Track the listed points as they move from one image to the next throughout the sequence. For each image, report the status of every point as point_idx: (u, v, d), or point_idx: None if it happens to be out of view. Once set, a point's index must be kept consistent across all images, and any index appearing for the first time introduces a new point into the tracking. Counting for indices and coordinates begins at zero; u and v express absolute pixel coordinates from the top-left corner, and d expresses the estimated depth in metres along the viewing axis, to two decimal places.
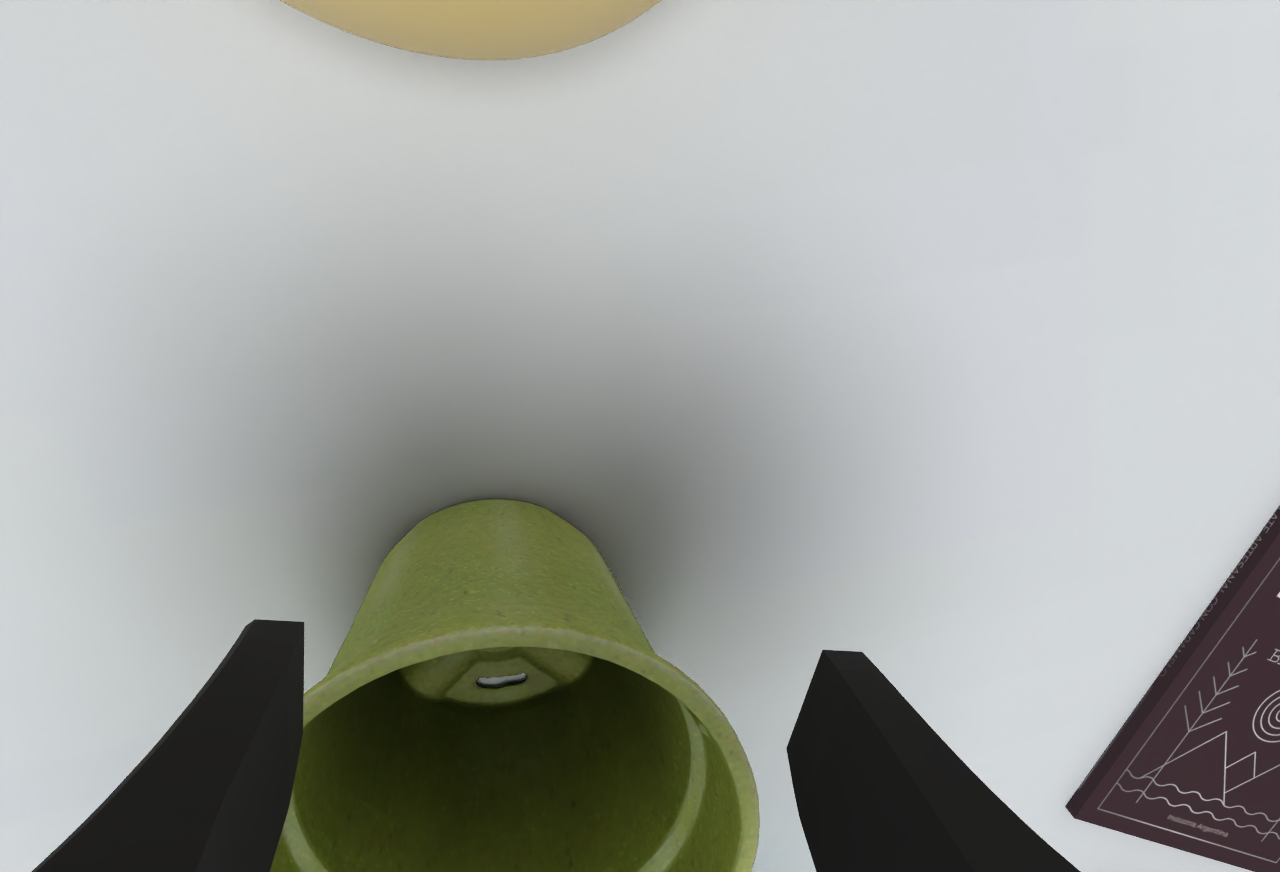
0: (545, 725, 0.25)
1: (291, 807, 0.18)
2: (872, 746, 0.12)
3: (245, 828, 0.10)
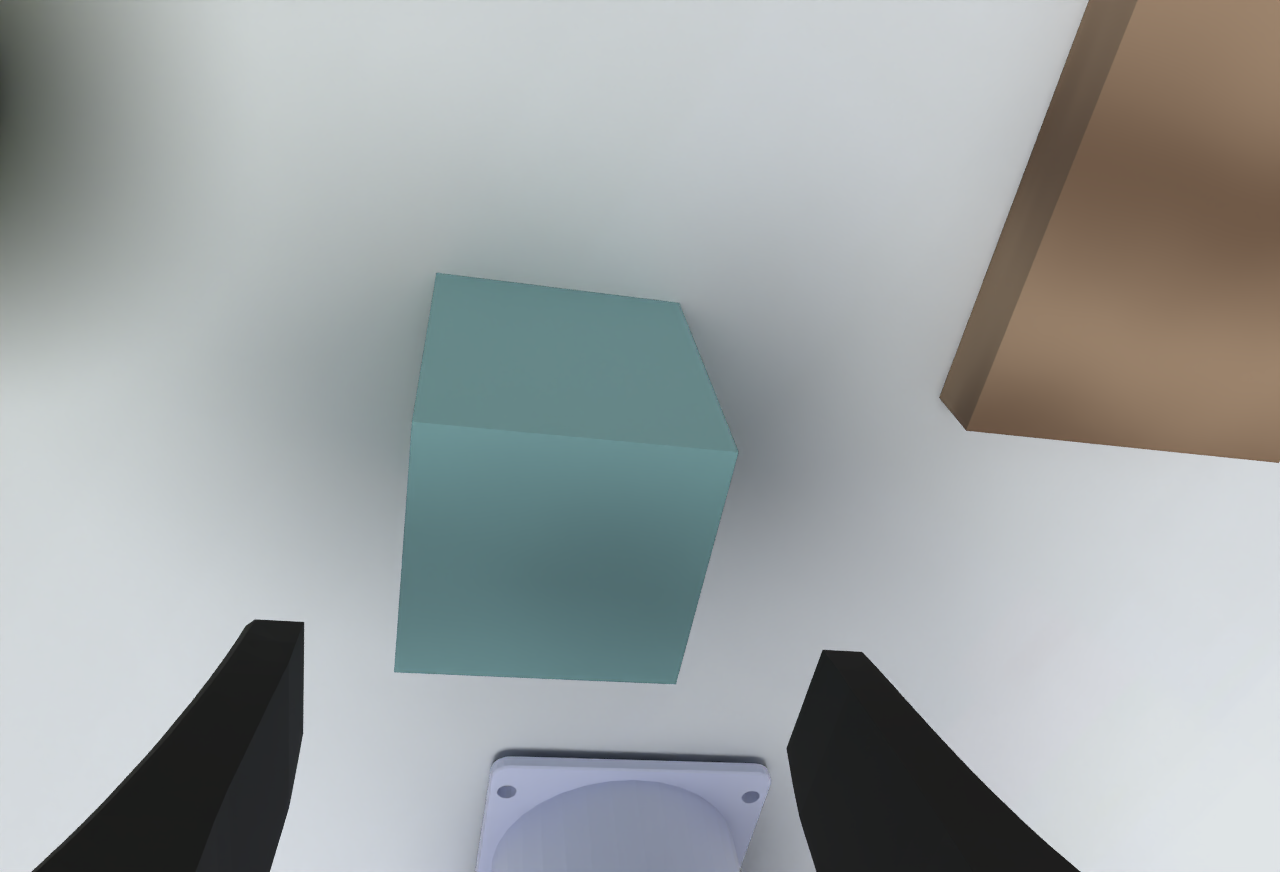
0: None
1: None
2: (872, 746, 0.12)
3: (245, 828, 0.10)
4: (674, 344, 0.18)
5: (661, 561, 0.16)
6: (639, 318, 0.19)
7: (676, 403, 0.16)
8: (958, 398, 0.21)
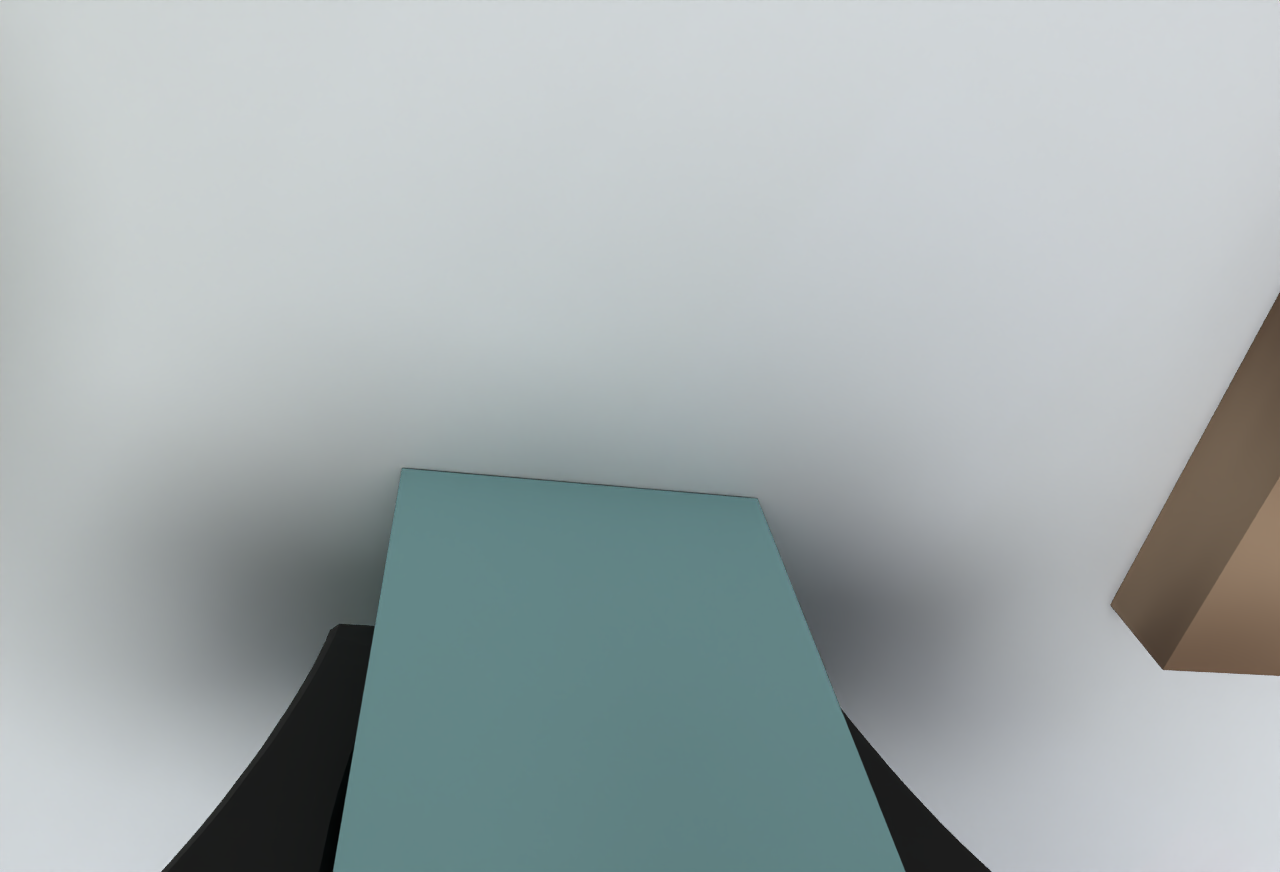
0: None
1: None
2: None
3: None
4: (763, 595, 0.12)
5: None
6: (705, 540, 0.13)
7: (785, 747, 0.10)
8: (1146, 617, 0.15)
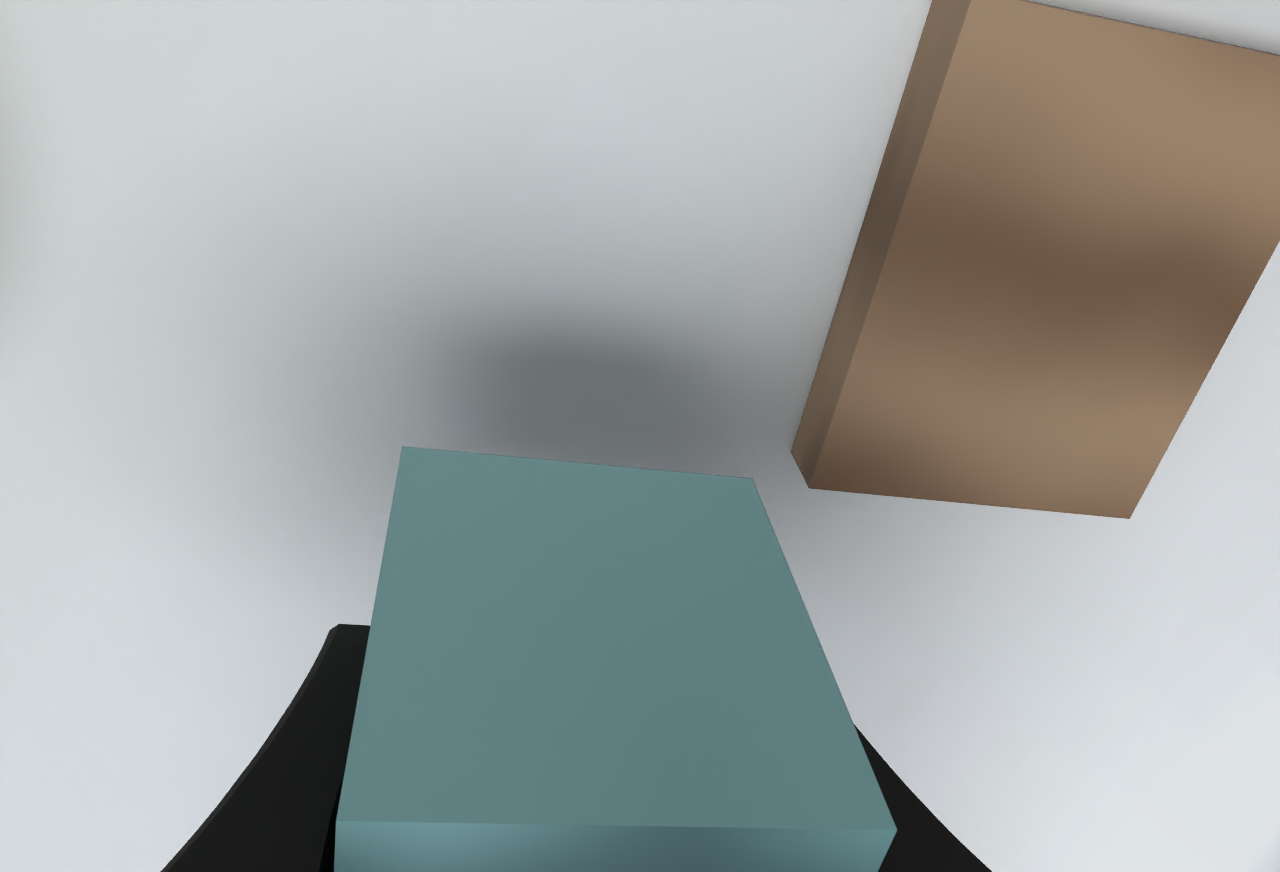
0: None
1: None
2: None
3: None
4: (758, 569, 0.12)
5: None
6: (701, 517, 0.13)
7: (778, 710, 0.10)
8: (804, 455, 0.21)
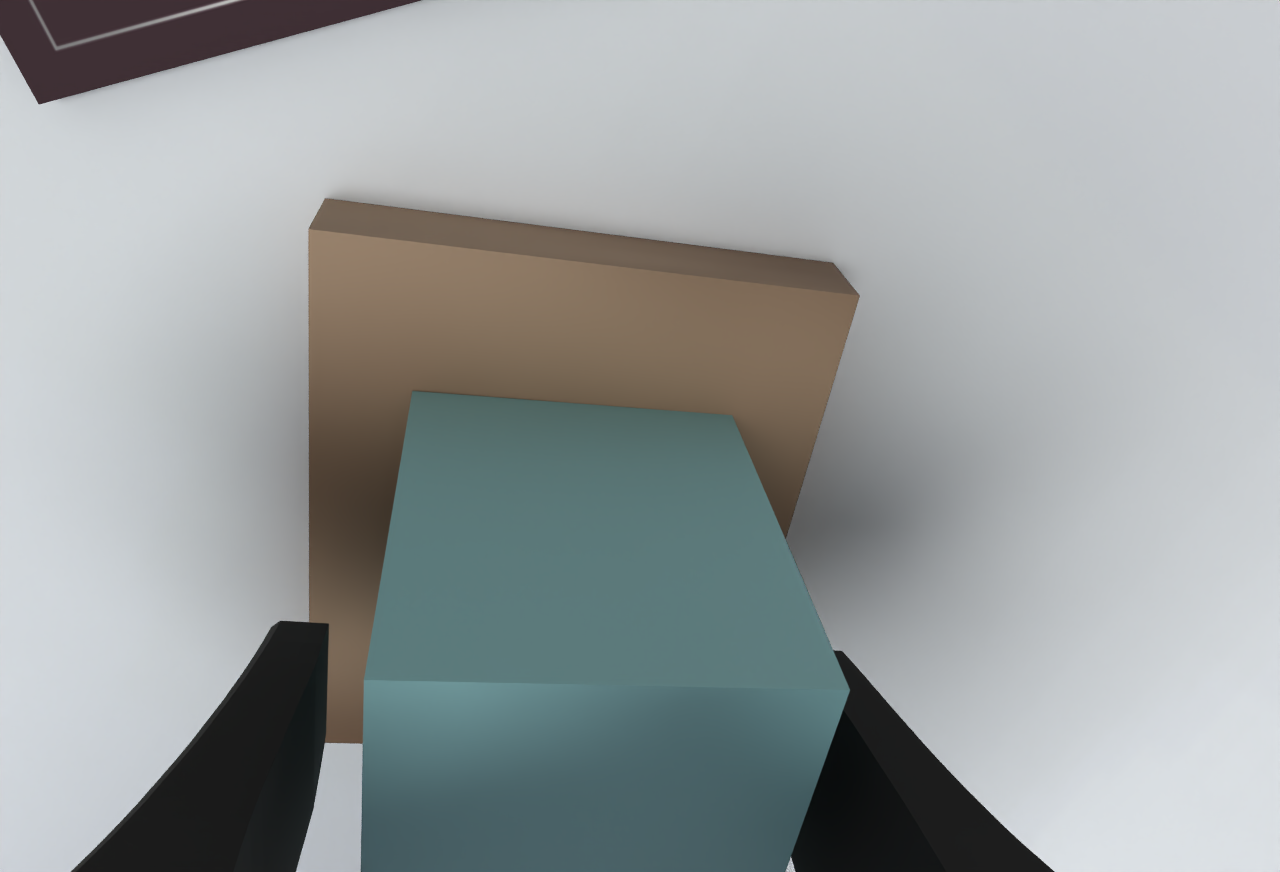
0: None
1: None
2: (849, 745, 0.12)
3: (275, 829, 0.10)
4: (734, 488, 0.13)
5: (734, 828, 0.11)
6: (683, 447, 0.14)
7: (748, 599, 0.11)
8: None
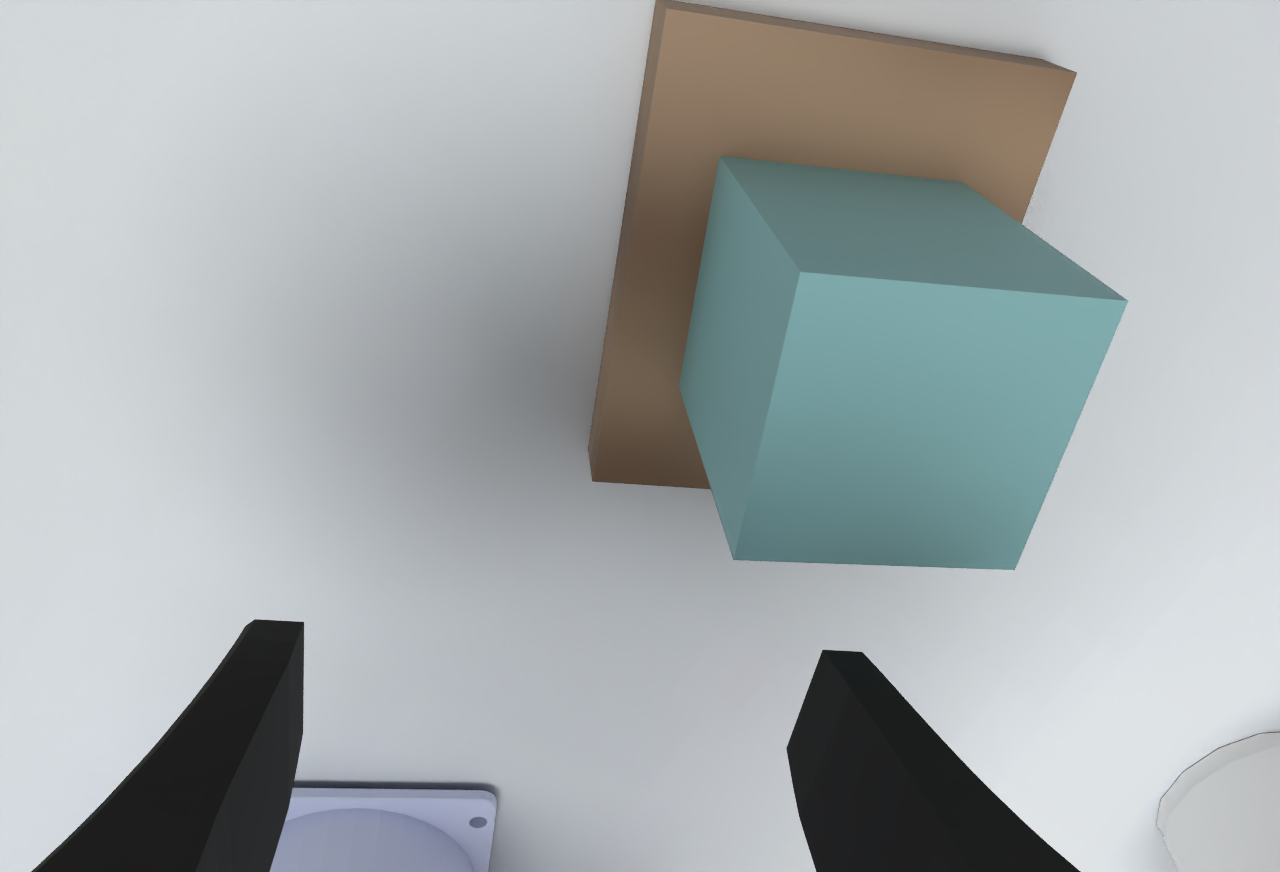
0: None
1: None
2: (872, 746, 0.12)
3: (245, 828, 0.10)
4: (989, 214, 0.17)
5: (1026, 428, 0.15)
6: (938, 193, 0.18)
7: (1033, 261, 0.15)
8: (592, 449, 0.22)
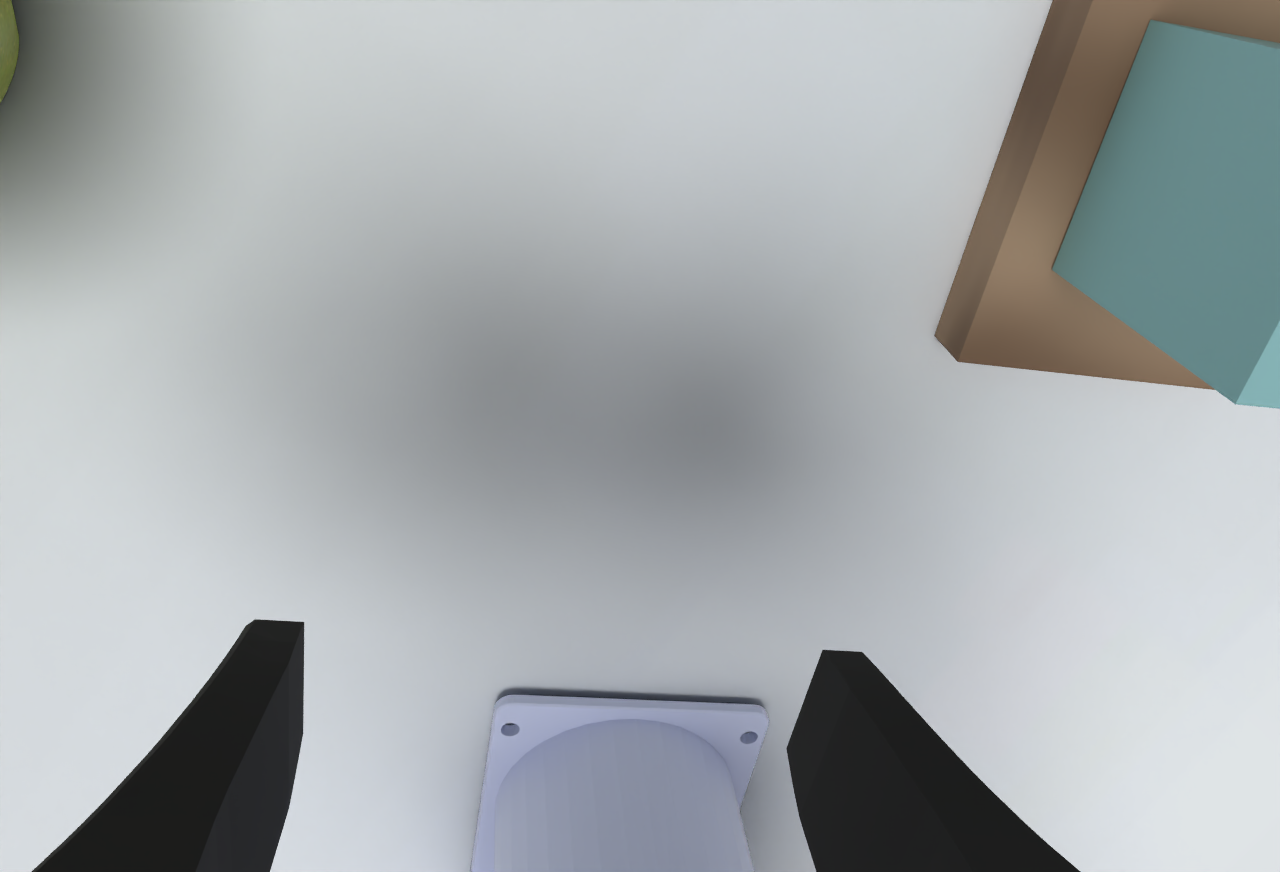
0: None
1: None
2: (872, 746, 0.12)
3: (245, 828, 0.10)
4: None
5: None
6: None
7: None
8: (950, 331, 0.22)
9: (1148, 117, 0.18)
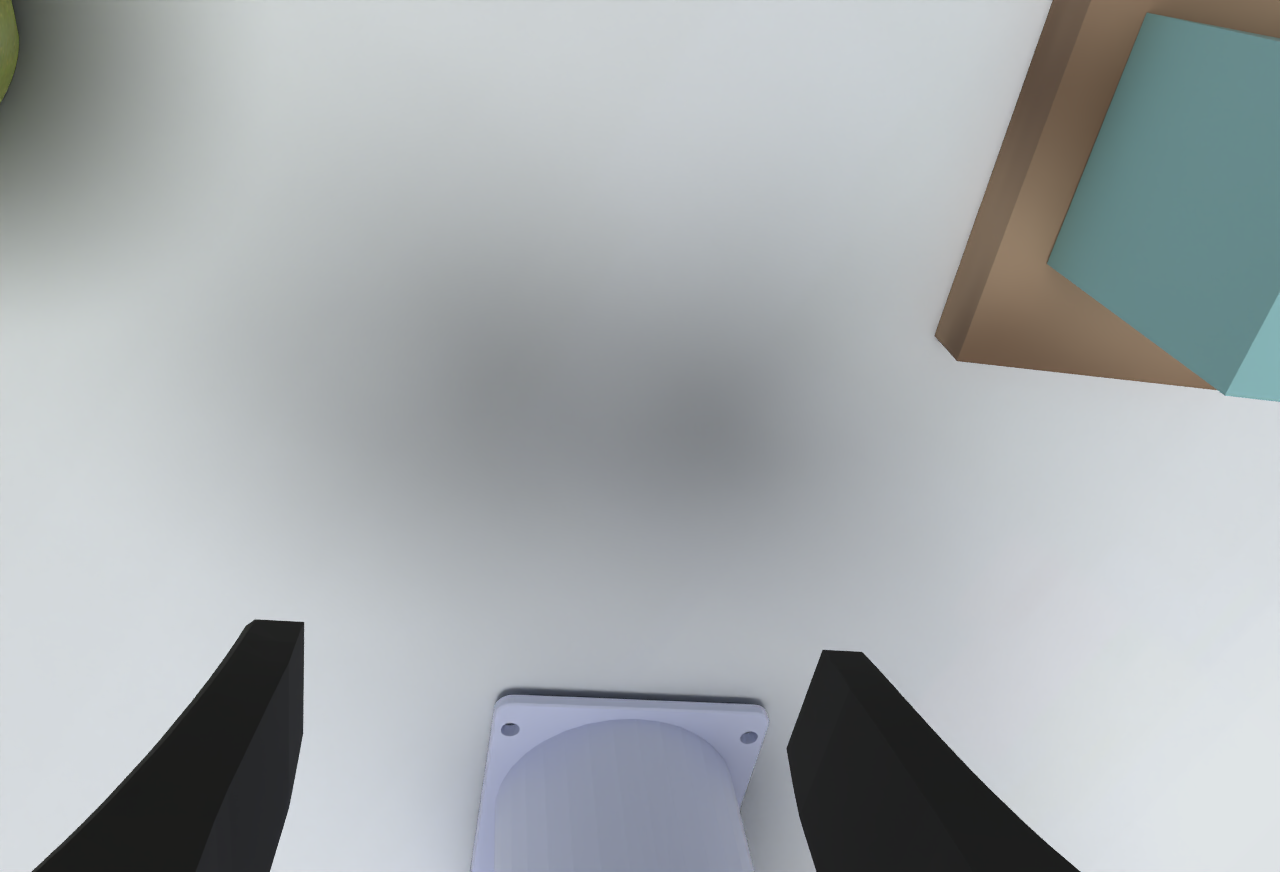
0: None
1: None
2: (872, 746, 0.12)
3: (245, 828, 0.10)
4: None
5: None
6: None
7: None
8: (949, 331, 0.22)
9: (1143, 110, 0.18)
